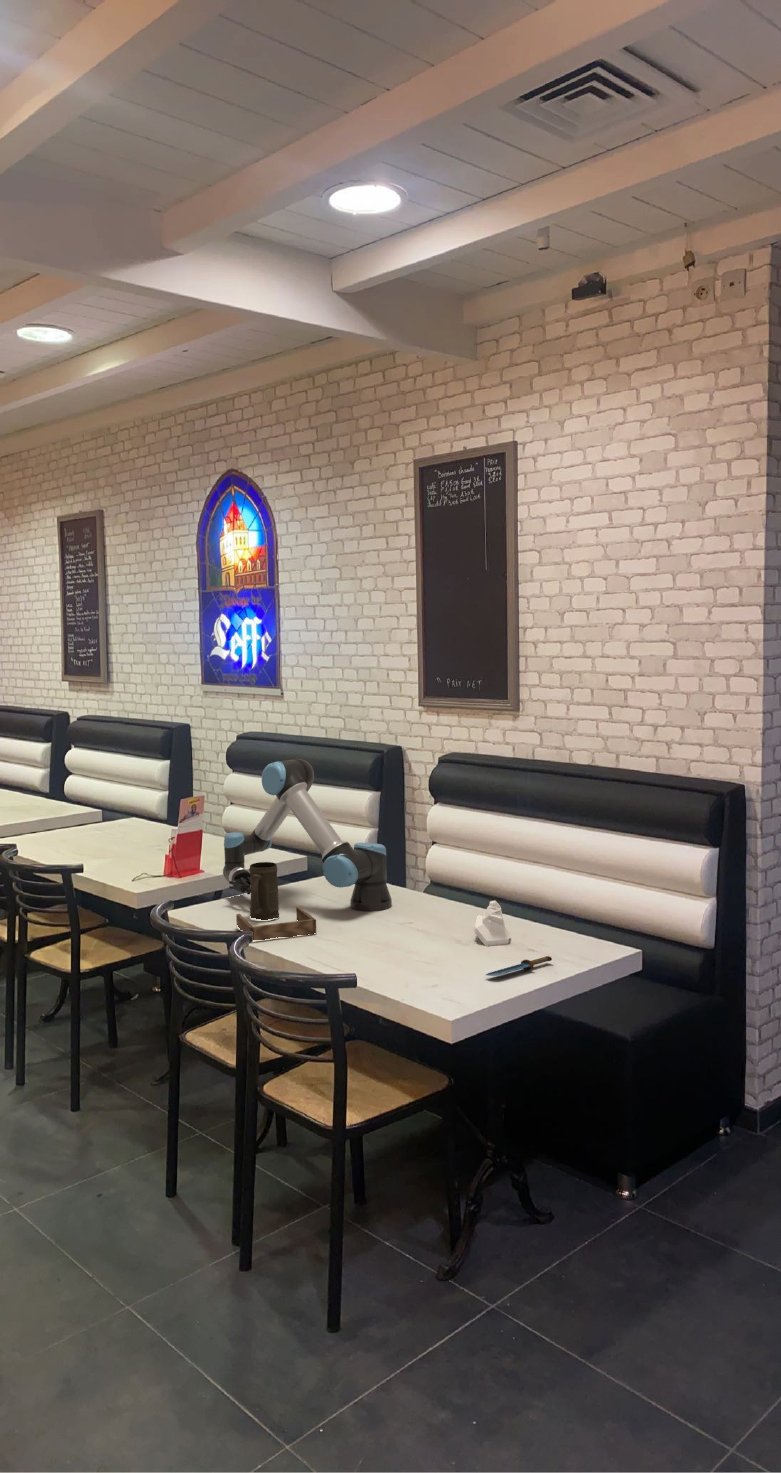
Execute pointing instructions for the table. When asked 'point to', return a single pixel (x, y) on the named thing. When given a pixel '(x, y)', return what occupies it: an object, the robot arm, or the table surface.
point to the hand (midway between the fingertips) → (257, 892)
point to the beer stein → (264, 891)
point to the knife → (521, 966)
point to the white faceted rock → (492, 926)
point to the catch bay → (280, 927)
